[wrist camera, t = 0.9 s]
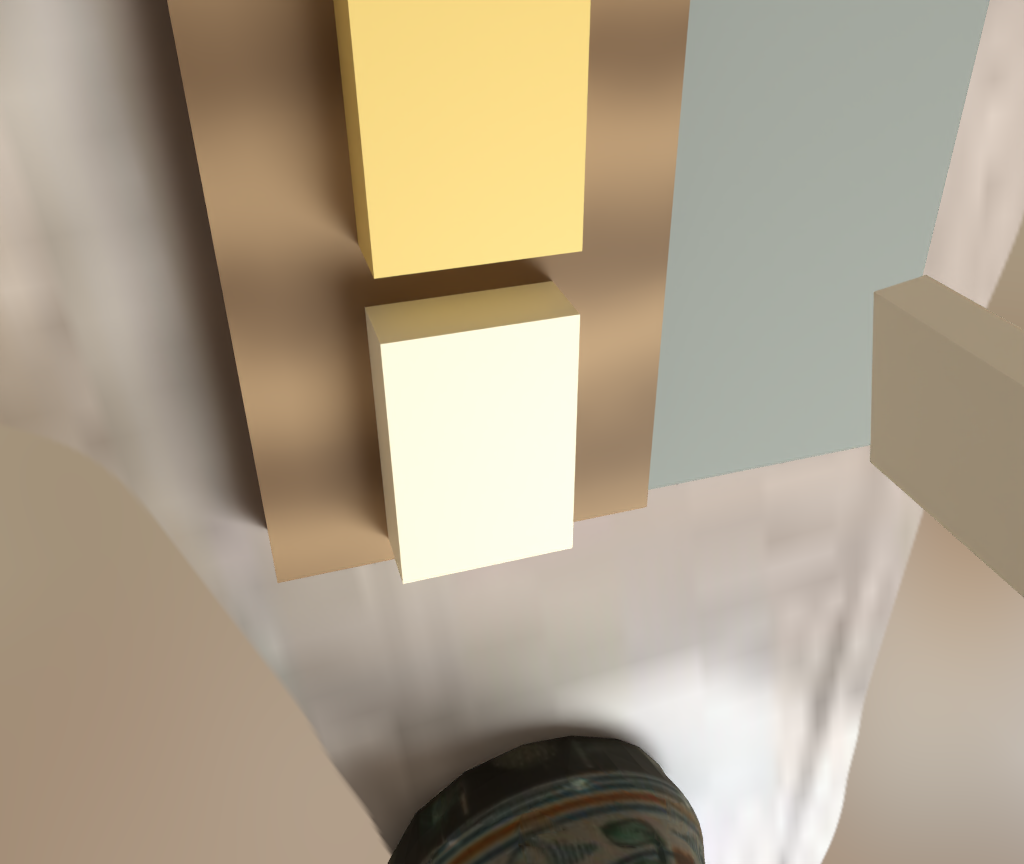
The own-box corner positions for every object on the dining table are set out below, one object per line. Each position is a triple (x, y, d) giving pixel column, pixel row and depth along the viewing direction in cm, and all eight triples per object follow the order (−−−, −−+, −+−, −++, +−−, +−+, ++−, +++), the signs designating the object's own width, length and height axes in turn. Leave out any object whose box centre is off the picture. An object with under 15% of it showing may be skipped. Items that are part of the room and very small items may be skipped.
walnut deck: (139, -159, 24) (137, -155, 21) (655, -169, 27) (704, -167, 25) (269, 531, 36) (277, 582, 34) (616, 464, 39) (646, 506, 37)
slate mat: (668, -212, 27) (681, -212, 26) (1022, -214, 30) (1042, -215, 29) (622, 482, 40) (629, 493, 39) (870, 433, 43) (881, 442, 42)
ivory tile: (364, 307, 29) (380, 344, 27) (552, 281, 30) (580, 314, 28) (388, 538, 34) (403, 583, 32) (548, 505, 35) (572, 547, 33)
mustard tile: (321, -110, 23) (338, -102, 21) (558, -118, 24) (594, -111, 22) (358, 244, 28) (374, 279, 26) (553, 220, 29) (582, 251, 27)
